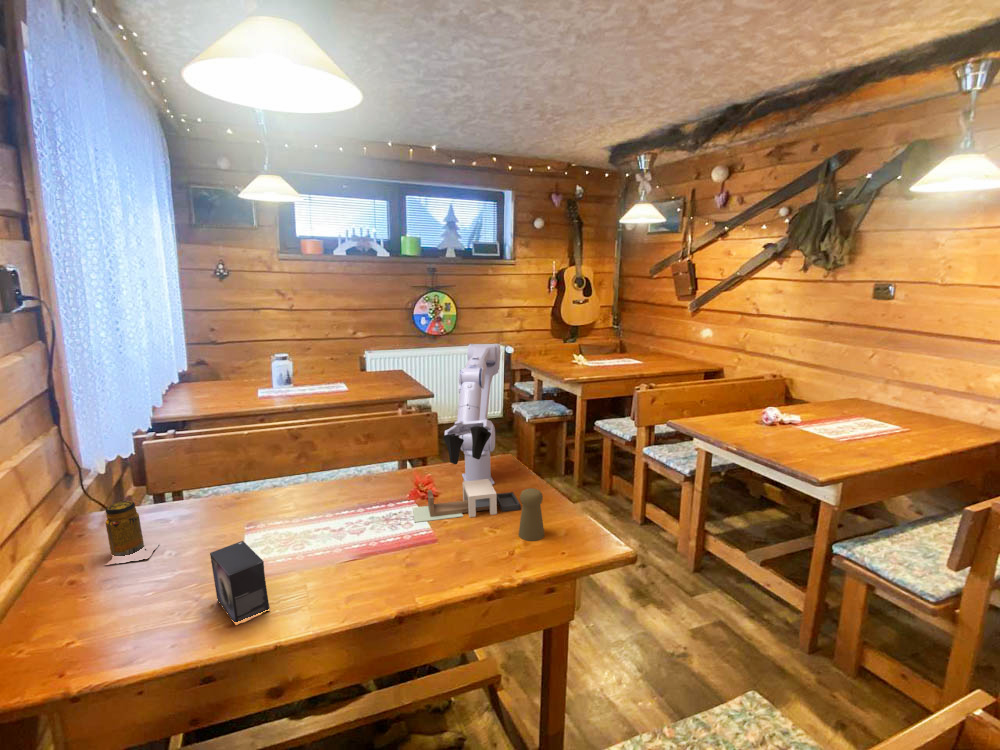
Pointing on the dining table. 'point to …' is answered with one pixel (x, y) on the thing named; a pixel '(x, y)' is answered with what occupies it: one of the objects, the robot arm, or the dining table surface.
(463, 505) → the brown t-shaped bar
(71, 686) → the dining table surface
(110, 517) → the condiment
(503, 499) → the dark grey tray
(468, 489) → the tunnel
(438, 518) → the mat
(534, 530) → the olive brown pawn
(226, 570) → the small box
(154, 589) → the dining table surface
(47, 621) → the dining table surface
